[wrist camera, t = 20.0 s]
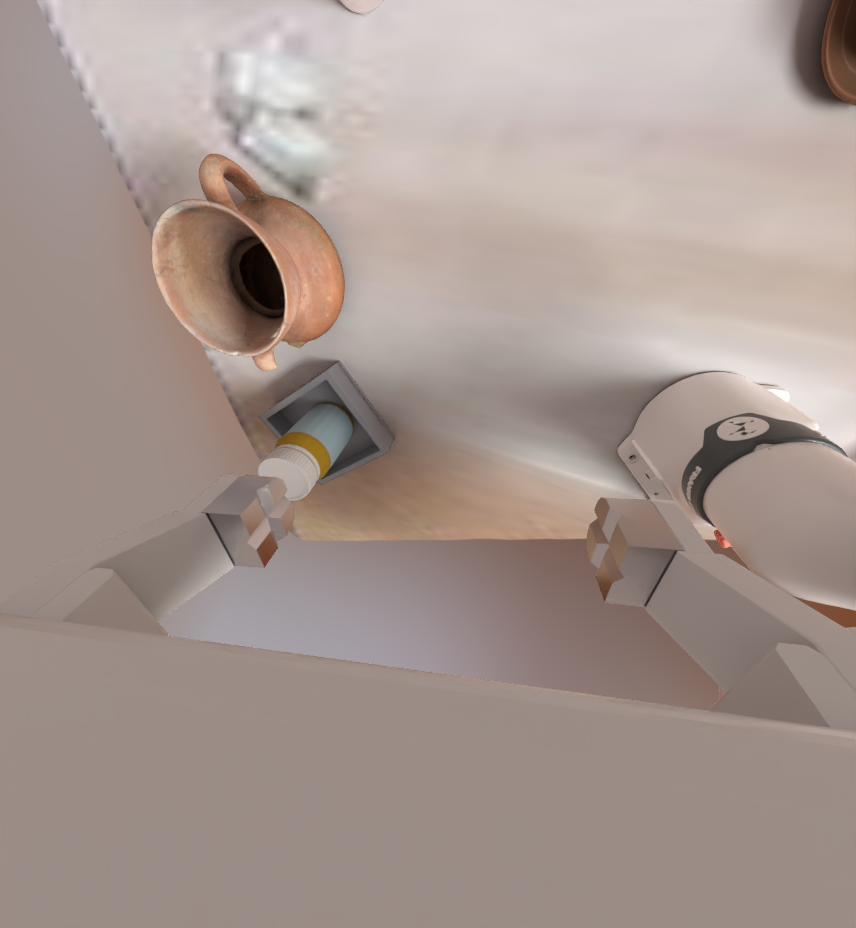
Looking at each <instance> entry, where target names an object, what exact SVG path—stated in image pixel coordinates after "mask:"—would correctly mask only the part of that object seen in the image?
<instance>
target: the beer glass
mask: <svg viewBox="0 0 856 928" xmlns="http://www.w3.org/2000/svg"><path fill="white" fill-rule="evenodd" d="M339 1H340V2H341V3H342V4H343V5H344V6H345V7H346V8H347V9H349V10H351V11H352V12H355V13H359V14H365V13H369V12H371V11H373V10H375V9H376V8H377V7H379V6H380V5H381V3H382V2H383V1H384V0H339Z"/></svg>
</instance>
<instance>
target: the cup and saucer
mask: <svg viewBox="0 0 856 928" xmlns="http://www.w3.org/2000/svg"><path fill="white" fill-rule="evenodd" d="M822 67H823V73H824V76H825V79H826V82H827V84H828V86H829V88H830V89H831V90H832V91H833V93H834V94H835V95H836V96H837V97H839V98H840V99H842V100H843V101H845V102H848V103H850V104H854V105H856V0H833V2H832V5H831V8H830V11H829V14H828V17H827V21H826V25H825V29H824V34H823V41H822Z"/></svg>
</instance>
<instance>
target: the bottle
mask: <svg viewBox="0 0 856 928" xmlns="http://www.w3.org/2000/svg"><path fill="white" fill-rule="evenodd" d="M353 432H354V425H353V421H352V419H351V417H350V415H349V414H348V413H347V412H346V411H345V410H344V409H343V408H342V407H340V406H338V405H336V404H333V403H325V402H324V403H320V404H317V405H316V406H315V407H313V408H312V409H311V410H310V411H309V412H308V413H307V414H306V415H305V416H303V417H302V418H301V419H300V420H299V421H298V422H297V423H296V424H295V425H294V426H293V427H292V428H291V429H290V430H289V431H288V432H287V433H286V434H285V435H284V436H282V437H281V439H280V440H279V441H278V442H277V444H276V447H275V449H274V451H272V452H271V453H270V454H269V455H268V456H267V457H266V458H265V459H264V460H263V461H262V462H261V464H260V466H259V468H258V476H267V477H278V478H280V479H282V480H284V483H285V485H286V488H287V491H286V493H285V495H284V496H285V497H286V498H287V499H288V500H289V501H296V500H300V499H302V498H304V497H305V496H306V495H307V494H308V493H309V492H310V490H311V489H312V487H313V486H314V485H315V483H316V482H317V480H319V479H321V478H322V477H324V476H325V475H326V473H327V472H328V471H329V469H330V468H331V466H332V465H333V463H334V462H335V460H336V459H337V457H338V456H339V455H340V453H341V452H342V450H343V449H344V447H345V446H346V444H347V443H348V442H349V440H350V438H351V437H352V435H353Z"/></svg>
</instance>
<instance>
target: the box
mask: <svg viewBox="0 0 856 928" xmlns="http://www.w3.org/2000/svg"><path fill="white" fill-rule="evenodd" d="M324 402H325V403H333V404H336V405H338V406H340V407H342V408H343V409H344V410H345V411H346V412H347V413H348V414H349V415H350V417H351V419H352V421H353V425H354V432H353V435H352V437H351V438H350V440H349V442H348V443H347V444H346V446H345V447H344V449H343V450H342V452H341V453H340V455H339V456H338V457H337V459H336V460H335V462H334V463H333V465H332V466H331V468H330V469H329V471H328V472H327V473H326V475H325V476H324V477H322V478H321V479H319V480H317V481H318V482H319V484H320V485H322V484H324V483H326V482H328V481H330V480H332V479H335V478H337V477H339V476H341V475H343V474H345V473H347V472H349V471H351V470H353V469H355V468H357V467H359V466H361V465H363V464H365V463H367V462H369V461H371V460H373V459H375V458H377V457H379V456H382V455H384V454H386V453H388V451H389V449H390V447H391V445H392V443H393V440H394V438H395V437H394V435H393V434H392V432H391V431H390V430H389V428H388V427H387V426H386V424H385V423H384V421H383V420H382V419H381V417H380V416H379V414H378V413H377V412H376V410H375V409H374V408H373V406H372V405H371V403H370V402H369V401H368V399H367V398H366V397H365V395H364V394H363V392H362V391H361V390H360V388H359V387H358V386H357V384H356V383H355V381H354V380H353V379H352V377H351V376H350V375H349V373H348V372H347V370H346V369H345V368H344V366H343V365H342V363H341V362H340V361H338V362H337V363H335V364H334V365H332V366H331V367H329V368H328V369H327V370H325V371H324V372H322V373H321V374H319V375H318V376H316V377H315V378H313V379H312V380H310V381H309V382H307V383H306V384H304V385H303V386H301V387H300V388H298V389H297V390H296V391H294V392H293V393H291V394H290V395H288V396H287V397H285V398H284V399H282V400H281V401H279V402H278V403H276V404H275V405H274V406H272V407H271V408H270V409H268V410H267V411H266V412H264V413H263V414H262V415H261V416H259V418H260V419H261V420H262V421H263V422H264V423H265V424H266V426H267V427H268V428H269V429H270V430H271V431H272V432H273V433H274V434H275V435H276V436H277V438H278V439H279V440H280V439H281V437H282V436H284V435H285V434H286V433H287V432H288V431H289V430H290V429H291V428H292V427H293V426H294V425H295V424H296V423H297V422H298V421H299V420H300V419H301V418H302V417H303V416H305V415H306V414H307V413H308V412H309V411H310V410H311V409H312V408H313V407H315V406H316V405H317V404H320V403H324Z"/></svg>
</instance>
